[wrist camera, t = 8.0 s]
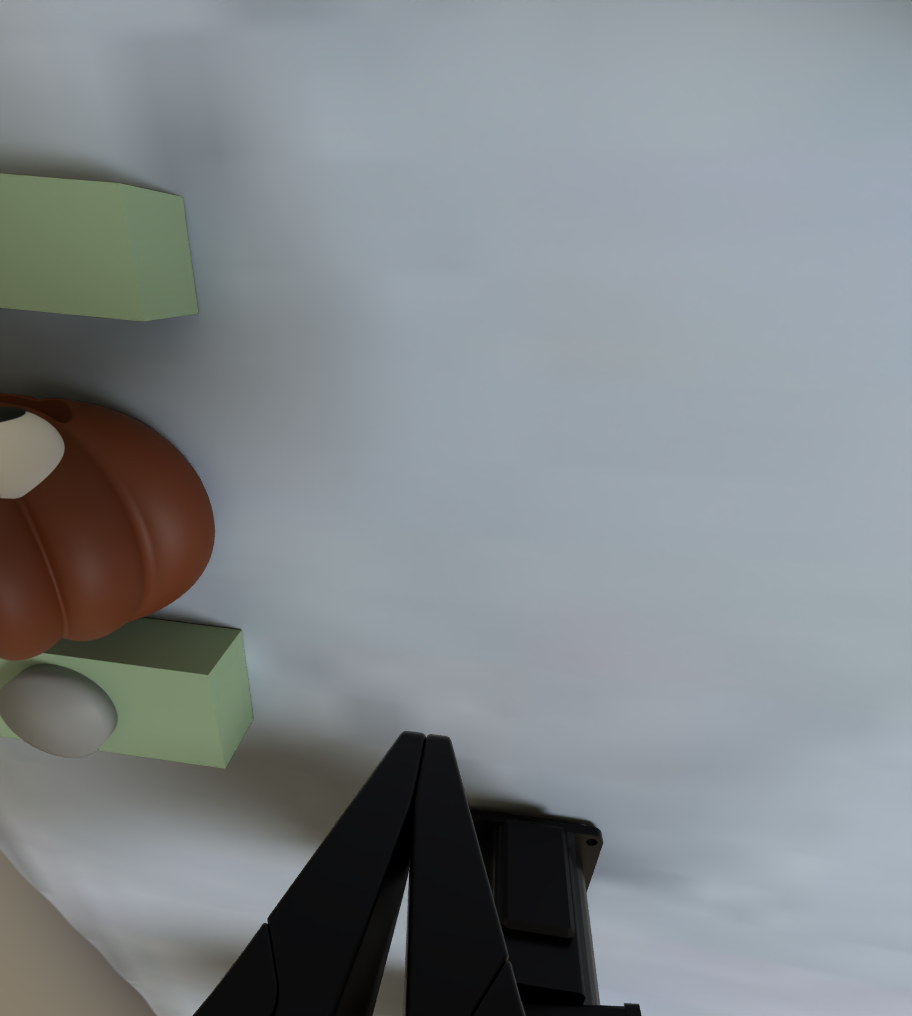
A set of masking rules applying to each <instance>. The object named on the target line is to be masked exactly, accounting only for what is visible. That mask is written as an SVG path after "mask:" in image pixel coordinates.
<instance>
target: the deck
mask: <svg viewBox="0 0 912 1016" xmlns="http://www.w3.org/2000/svg"><path fill="white" fill-rule="evenodd" d="M0 308H9V309H19V310H29V311H40V312H50V313H60V314H71V315H81V316H92V317H102V318H112V319H123V320H133V321H151V320H158V319H165V318H171V317H178V316H185V315H192V314H198V307H197V299H196V292H195V285H194V277H193V270H192V262H191V255H190V248H189V240H188V233H187V226H186V218H185V211H184V204H183V197H181V196H176V195H172V194H167V193H162V192H158V191H153V190H148V189H144V188H139V187H135V186H130V185H125V184H121V183H111V182H99V181H86V180H74V179H62V178H49V177H37V176H25V175H13V174H0ZM252 721H253V712H252V704H251V697H250V689H249V682H248V675H247V667H246V660H245V653H244V645H243V638H242V631H241V630H236V629H228V628H220V627H213V626H205V625H197V624H189V623H181V622H174V621H166V620H158V619H150V618H143V617H142V618H139V619H137V620H134V621H130V622H127V623H125V624H124V625H123V626H122V627H120V628H119V629H117V630H116V631H114V632H112V633H110V634H109V635H106V636H104V637H101V638H98V639H94V640H89V641H73V640H68V639H64V638H61V639H60V640H59V641H58V642H57V643H56V644H55V645H54V646H53V647H51V648H50V649H48V650H47V651H45V652H44V653H42V654H40V655H38V656H35V657H33V658H29V659H25V660H19V661H10V660H4V659H1V658H0V736H1V737H8V738H15V739H22V740H24V741H25V742H27V743H28V744H30V745H32V746H33V747H35V748H37V749H39V750H42V751H44V752H47V753H50V754H53V755H57V756H61V757H69V758H78V757H84V756H88V755H90V754H92V753H94V752H95V751H96V750H98V751H105V752H112V753H119V754H126V755H133V756H140V757H147V758H154V759H161V760H168V761H175V762H182V763H189V764H195V765H202V766H209V767H216V768H223V769H225V768H226V766H227V764H228V763H229V761H230V759H231V757H232V756H233V754H234V752H235V750H236V749H237V747H238V745H239V743H240V742H241V740H242V738H243V736H244V735H245V733H246V731H247V729H248V728H249V726H250V724H251V722H252Z"/></svg>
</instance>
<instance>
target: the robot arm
mask: <svg viewBox="0 0 912 1016" xmlns="http://www.w3.org/2000/svg"><path fill="white" fill-rule="evenodd" d="M602 845H603V839H602V832H601V831H600V830H599V829H598V828H596V827H591V826H584V825H577V824H571V823H564V822H557V821H550V820H543V819H536V818H529V817H522V816H515V815H508V814H501V813H494V812H487V811H481V810H474V809H469V806H468V802H467V798H466V794H465V791H464V787H463V783H462V779H461V776H460V772H459V768H458V764H457V761H456V757H455V753H454V749H453V746H452V742H451V740H450V738H449V737H448V736H442V735H434V734H429V735H428V736H427V737H426V736H425V734H423V733H419V732H412V731H404V732H402V733H401V734H400V736H399V737H398V738H397V740H396V741H395V743H394V744H393V745H392V747H391V748H390V749H389V751H388V752H387V754H386V755H385V756H384V758H383V759H382V760H381V762H380V763H379V765H378V766H377V767H376V769H375V770H374V772H373V773H372V774H371V776H370V777H369V778H368V780H367V781H366V783H365V784H364V785H363V787H362V788H361V790H360V791H359V792H358V794H357V795H356V796H355V798H354V799H353V801H352V802H351V803H350V805H349V806H348V807H347V809H346V810H345V812H344V813H343V814H342V816H341V817H340V819H339V820H338V821H337V823H336V824H335V825H334V827H333V828H332V830H331V831H330V832H329V834H328V835H327V837H326V838H325V839H324V841H323V842H322V843H321V845H320V846H319V848H318V849H317V850H316V852H315V853H314V854H313V856H312V857H311V859H310V860H309V861H308V863H307V864H306V866H305V867H304V868H303V870H302V871H301V872H300V874H299V875H298V877H297V878H296V879H295V881H294V882H293V884H292V885H291V886H290V888H289V889H288V890H287V892H286V893H285V895H284V896H283V897H282V899H281V900H280V901H279V903H278V904H277V906H276V907H275V908H274V910H273V911H272V913H271V914H270V915H269V917H268V919H267V921H268V924H267V923H264V924H263V925H262V926H261V927H260V929H259V930H258V931H257V933H256V934H255V936H254V937H253V938H252V940H251V941H250V943H249V944H248V945H247V947H246V948H245V949H244V951H243V952H242V953H241V955H240V956H239V957H238V959H237V960H236V961H235V963H234V964H233V965H232V967H231V968H230V969H229V971H228V972H227V973H226V974H225V976H224V977H223V978H222V980H221V981H220V982H219V984H218V985H217V986H216V988H215V989H214V990H213V992H212V993H211V994H210V995H209V996H208V998H207V999H206V1000H205V1001H204V1002H203V1004H202V1005H201V1006H200V1007H199V1009H198V1010H197V1011H196V1012H195V1013H194V1015H193V1016H372V1015H373V1011H374V1007H375V1003H376V999H377V995H378V991H379V988H380V984H381V980H382V976H383V972H384V968H385V964H386V960H387V956H388V953H389V949H390V945H391V941H392V937H393V933H394V929H395V925H396V921H397V917H398V914H399V910H400V906H401V902H402V898H403V894H404V890H405V886H406V881H407V877H408V873H409V888H408V910H407V934H406V957H405V981H404V1005H403V1016H641V1011H640V1006H639V1004H631V1003H624V1006H604V1005H600V1000H599V992H598V983H597V975H596V967H595V959H594V951H593V942H592V934H591V926H590V918H589V910H588V901H587V893H586V892H587V889H588V887H589V884H590V881H591V878H592V875H593V872H594V869H595V866H596V863H597V860H598V857H599V854H600V851H601V848H602ZM409 867H410V870H409Z"/></svg>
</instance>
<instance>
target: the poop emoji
mask: <svg viewBox="0 0 912 1016" xmlns="http://www.w3.org/2000/svg"><path fill="white" fill-rule="evenodd" d="M214 537H215V525H214V517H213V511H212V507H211V504H210V500H209V497H208V495H207V492H206V490H205V488H204V486H203V484H202V482H201V480H200V478H199V476H198V475H197V473H196V472H195V470H194V469H193V467H192V466H191V465H190V463H189V462H188V461H187V460H186V458H185V457H184V456H183V455H182V454H181V453H180V452H179V451H178V450H177V449H176V448H175V447H174V446H173V445H172V444H171V443H170V442H169V441H167V440H166V439H165V438H164V437H162V436H161V435H160V434H158V433H157V432H156V431H154V430H153V429H151V428H149V427H148V426H146V425H144V424H143V423H141V422H139V421H137V420H135V419H133V418H131V417H129V416H126V415H124V414H122V413H119V412H116V411H114V410H111V409H108V408H105V407H102V406H98V405H94V404H90V403H86V402H81V401H75V400H69V399H60V398H48V399H36V398H33V397H29V396H24V395H18V394H9V393H0V658H1V659H4V660H10V661H19V660H25V659H29V658H33V657H35V656H38V655H40V654H42V653H44V652H45V651H47V650H48V649H50V648H51V647H53V646H54V645H55V644H56V643H57V642H58V641H59V640H60V639H61V638H64V639H68V640H73V641H89V640H94V639H98V638H101V637H104V636H106V635H109V634H110V633H112V632H114V631H116V630H117V629H119V628H120V627H122V626H123V625H124V624H125V623H127V622H130V621H134V620H137V619H139V618H142V617H144V616H147V615H149V614H152V613H154V612H156V611H158V610H160V609H162V608H164V607H165V606H167V605H169V604H170V603H172V602H173V601H175V600H176V599H178V598H179V597H180V596H182V595H183V594H184V593H185V592H186V591H188V590H189V589H190V588H191V587H192V586H193V585H194V584H195V582H196V581H197V580H198V579H199V577H200V576H201V575H202V573H203V572H204V570H205V568H206V566H207V564H208V562H209V559H210V557H211V554H212V550H213V545H214Z"/></svg>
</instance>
